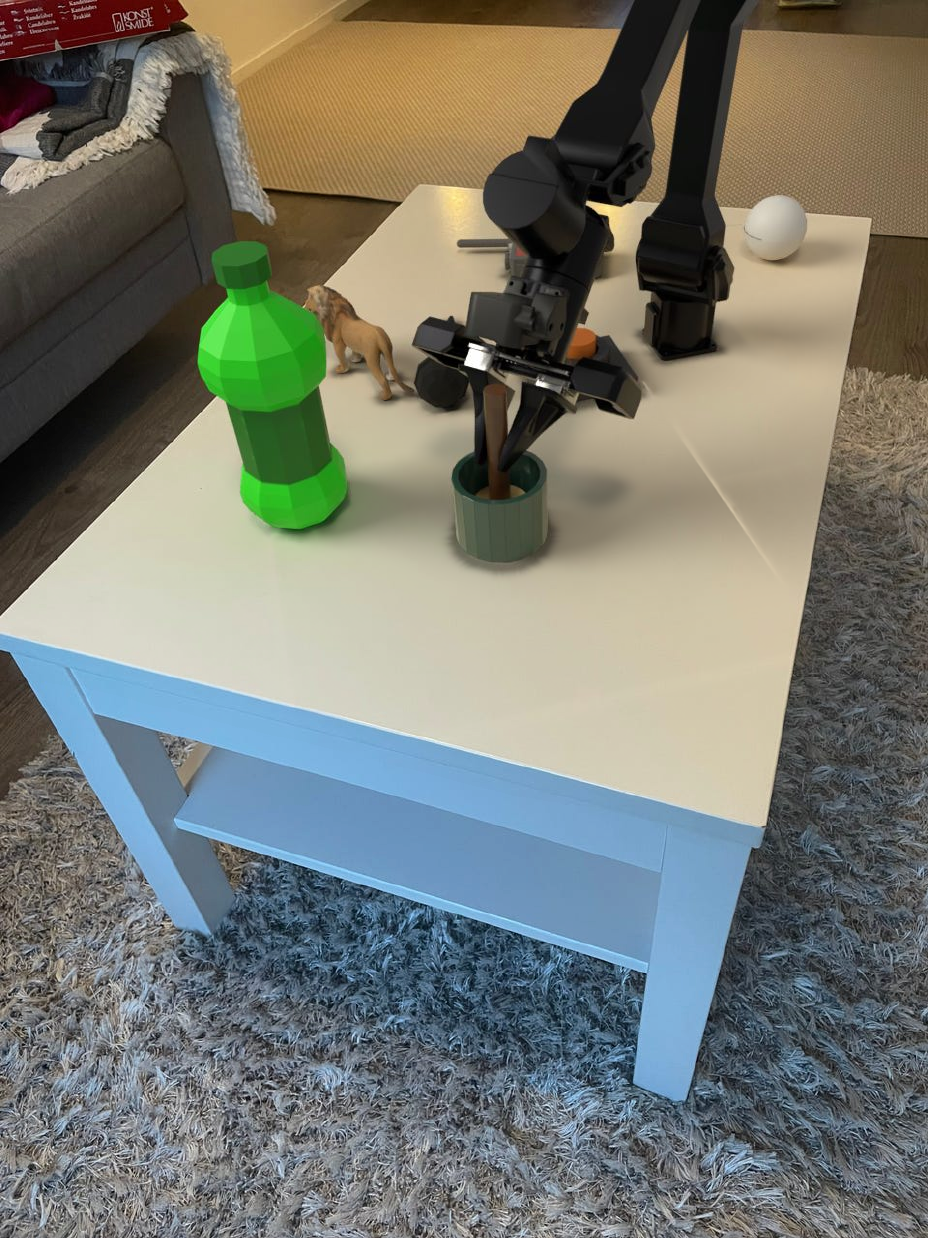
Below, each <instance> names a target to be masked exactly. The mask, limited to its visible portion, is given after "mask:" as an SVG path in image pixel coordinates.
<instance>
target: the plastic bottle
mask: <svg viewBox="0 0 928 1238" xmlns="http://www.w3.org/2000/svg"><path fill="white" fill-rule="evenodd" d="M211 264H212V268H213V272H214V276H215V280H216V284H218V285H219V286H221V287H223V288H224V289H226V293H227V298H226V299H225V300H224V301H223V302H222V303H221V304H220V305H219V306H218V307H217V308H216V310H214V312H213V313H212V315H210V317H209V318H208V320H207V321H206V322H205V323H204V325H203V326H202V327H201V332H200V339H199V345H198V353H197V366H198V370H199V373H200V376H201V378H202V380H203V383H204V384H205V386H206V387H207V389H208V392H211V393H212V394H213V395H215V396H216V397H218V398H219V399H221V400H222V401H224V403H225V405H226V408H227V411H228V416H229V419H230V422H231V426H232V429H233V433H234V436H235V440H236V444H237V447H238V450H239V455H240V457H241V462H242V465H241V472H240V485H239V486H240V487H239V494H240V497H241V500H242V501H241V502H242V503H243V504H244V505H245V506H246V507H247V509H248V510H249V511H250V512H251V513H252V514H254V515H255V516H257V518H259V519H260V520H262V521H263V522H264V523H266V525H269V526H271V527H272V528H279V529H288V530H289V529H290V530H303V529H306V528H310V527H312V526H315V525H318V524H321V523H322V522H324V521H326V520H327V518H329V516H331V514H332V513H334V512H335V510H336V509H337V508H338V507H339V506H340V505H341V504H342V503H343V501H344V500H345V498H346V494H347V491H348V485H347V484H348V483H347V481H348V480H347V468H346V464H345V459H344V457H343V455H342V453H340V451H339V450H338V448H336V447H335V445H333V443H331V439H330V434H329V430H328V425H327V420H326V415H325V409H324V405H323V400H322V396H321V389H320V385H321V383H322V382H323V381H324V380H325V379H326V377H327V341H326V336H325V334H324V330H323V327H322V325H321V323H320V322H319V320H318V319H317V317H316V316H315V314H313V313H311V312H310V311H308V310H306V309H304V306H301V305H299V304H298V303H296V302H294V301H292V300H290V299H288V298H286V297H285V296H283V295H281V294H280V293H277V292H275V291H273V290H270V287H269V283H268V280H269V279H271V278H272V273H273V270H272V263H271V258H270V254H269V249H268V246H267V245H265V244H263V243H262V242H261V243H260V242H259V241H258V240H257V241H256V240H253V241H252V240H251V241H250V240H249V241H248V240H239V241H235V242H232V243H228V244H224V245H222V246H220V247H219V248H218V249H216V250H214V251H213V252H212V253H211Z"/></svg>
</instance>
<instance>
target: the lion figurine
mask: <svg viewBox="0 0 928 1238" xmlns="http://www.w3.org/2000/svg"><path fill="white" fill-rule="evenodd" d="M307 292H308V297H307V299H306V300H305V305H304V306H303V308H304V309H306V310H308V311H310V312H311V313H313V314H315V316H316V317H317V319H318V320H319V322H320V323H321V325H322V327H323V330H324V335H325V339H326V340H327V341H328V342H330V343H332V346H333V350H334V352H335V356H336V357H337V359H338V361H339V365H337V366H336V367H335V371H336V372H335V373H336V374H345V373H346V372H348V371H349V362H348V359H347V356H346V350H347V348H348V349H350V350H351V351H352V352H351V356H350V361H351V362H352V363H359V362H361V361H362V359H363V358H362V355H363V356H364V359H365V362H366V364H367V367H368V369H369V371H370V373H371V374H372V376H373V377H374V378H375V380H376V381H377V382H378V383H379V385H380V386H381V388H382V390H381V391H380V395H379V396H380V399H381V400H382V401H387V400H390V399H391V397H392V395H393V392H392V389H391V386H390V383H389V381H394V382H395V383H396V384H397V385H398V387H400V389H402V390H403V391H404V392H405V393H406V394H409V395H412V394H415V392H416V391H415V389H414V388H412V387H411V386H409V385H407V384H406V383H404V382H402V380H401V379H400V377H399V375H398V374H397V369H396V367H395V365H394V358H393V357H394V355H393V351H394V346H393V343H392V341H391V338H390V336H389V335H388V333H387V332H386V331H385V329H384V328H383V327H381V326H379V325H374V324H372V323H370V322H368V321H366V320H364V319H363V318H361V317H360V316H359V315H358V314H357V312H356V310H355V308H354V306H353V304H351V302H350V301H349V300H348V299H347V298H346V297H344V296H343V295H342V294H341V293H340V292H338V291H337V290H336V289H333V288H331V287H329V286H325V285H324V284H323V285H320V284H318V285H313V286H310V287H309V288H307ZM381 357H382V358H383V360H384V362H385V364H386V365H387V370H388V372H387V373H386V374H385V375H384V373H383V371H382V367H381Z"/></svg>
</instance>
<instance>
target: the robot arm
mask: <svg viewBox="0 0 928 1238" xmlns="http://www.w3.org/2000/svg"><path fill="white" fill-rule="evenodd" d="M760 1H761V0H632V3H631V5H630V7H629V10H628V11H627V14H626V16H625V19H624V22H623V24H622V27H621V29H620V31H619V33H618V35H617V38H616V41H615V43H614V45H613V47H612V49H611V53H610V54H609V57H608V59H607V62H606V64H605V66H604V69H603V71H602V73H601V75H600V76H599V78H598V80H597V82H596V83H595V84H594V85H593V86H591V87H590V88H589V89H588V90H586V91H585V92H583V93H582V94H581V95H580V96H579V97H577V98H576V99H574V101H572V103H571V104H570V106H569V108H568V109H567V111H566V113H565V115H564V117H563V119H562V121H561V122H560V124H559V126H558V128H557V130H556V132H555V133H554V134H553V135H552V136H551V137H542V136H537V135H528V136H527V137H526V140H525V143H524V145H523V149H522V150H519V151H516V152H514V153H512V154H510V155H509V156H507V157H505V158H504V159H502V160H501V161H500V162H499V163H498V164H497V165H496V166H495V167H494V169H493V170H492V172H491V173H489V174H488V175H487V178H486V179H485V182H484V186H483V191H482V204H483V209H484V211H485V213H486V216H487V217H488V219H489V220H490V221H491V222H492V223H493V224H494V225H495V226H496V227H497V228H498V229H499V230H500V232H501V233H502V234H504V236H506V238H507V239H508V238H509V240H510V241H511V242H512V243H513V244H514V245H515V246H516V247H517V248H518V249H519V250H520V251H521V252H522V253H523V254H524V255H526V256H527V258H526V261H525V263H524V266H523V269H522V272H521V274H520V277H518V276H513V275H512V276H511V275H510V279H508V281H507V283H506V285H505V288H504V290H503V292H497V291H471V292H470V296H469V302H468V309H467V314H466V321H465V325H464V324H461V323H457V322H455V323H453V322H450V321H447V320H446V319H443V318H442V319H441V318H437V317H434V316H428V317H427V318H425V320H423V321H422V322H421V323H420V324H419V325H418V326H417V327H416V330H415V334H414V336H413V339H412V343H411V347H413V348H414V349H416V350H417V351H419V352H421V353H422V354H424V355H426V356H427V357H430V358H432V359H433V360H435V361H436V362H438V363H440V364H442V365H444V366H447V367H450V368H454V369H457V370H459V372H461V373H462V374H464V375H465V376H467V377H468V380H469V386H470V388H471V392H472V398H473V409H474V411H473V412H474V427H473V428H474V433H473V435H474V437H473V438H474V439H473V440H474V441H473V443H474V444H473V446H474V447H473V452H474V462H475V463H476V464H478V465H481V466H483V465H484V463H485V461H486V459H487V444H486V427H485V411H484V394H483V390H484V388H485V387H486V386H487V385H490V384H501V385H504V386H505V387H506V391H507V412H508V411H509V408H510V405H511V403H512V401H513V398H514V396H515V394H516V390H515V389H513V388H512V387H510V385H507V384H506V381H507V378H508V377H509V375H513V376H517V377H520V378H524V379H526V378H527V379H531V380H534V381H536V383H535V385H534V384H531V383H528V381H523V380H521V384H520V385H521V388H520V402H519V407H518V409H517V412H516V413H515V417H514V419H513V421H512V424H511V427H510V429H509V430H508V436H507V439H506V441H505V444H504V446H503V449H502V452H501V455H500V459H499V462H498V466H497V470H498V471H500V472H502V473H506V472H507V471H508V470H509V469H510V468H511V466H512V465H513V464H514V463H515V462H516V461H517V460H518V459H519V458H520V457H521V456H522V455H523V453H524V452H525V451H526V450H527V451H528V450H529V448H530V447H531V446H532V445H533V444H534V443H535V442H536V441H537V440H538V439H539V437H541V436H542V435H543V434H544V433H546V431H547V430H548V429H549V428H551V427H552V426H553V425H554V424H555V423H556V422H558V421H559V419H561V418H562V417H563V416H564V415H566V414H568V413H569V414H571V415H572V414H573V415H576V414H577V412H578V407H577V406H576V403H577V402H576V400H577V398H578V395H579V393H580V394H584V395H587V396H591V397H593V398H594V399H593V400H594V402H595V404H596V407H597V409H598V410H599V411H601V412H603V413H607V414H610V415H614V416H616V417H617V416H618V417H620V418H623V419H628V420H635V417H636V415H637V411H638V409H639V406H640V404H641V402H642V388H641V386H640V383H639V381H638V382H637V381H636V380H635V379H634V378H633V377H632V376H631V375H630V374H629V373H628V372H627V371H626V370H625V369H624V368H623V367H621V366H617V365H613V364H609V363H605V362H602V361H598V360H594V359H590V358H586V357H583V358H582V359H581V360H580V361H579V362H578V363H577V364H576V365H575V367H573V366H570V365H571V362H572V361H571V360H570V359H568V358H567V354H568V351H569V349H570V346H571V343H572V340H573V338H574V335H575V332H576V329H577V328H578V327H579V324H580V325H583V326H585V325H586V323H587V320H588V317H589V314H590V312H589V311H588V310H587V309H586V308H585V307H586V304H587V302H588V299H589V295H590V293H591V291H592V287H593V285H594V282H595V279H596V278H595V276H596V274H597V271H598V268H599V265H600V263H601V260H602V257H603V258H604V255H605V253H606V252H605V250H606V251H609V252H613V250H614V249H615V236H614V233H613V231H612V229H611V225H610V216H608V215H606V214H601V213H598V211H597V210H595V209H594V208H593V207H591V206H589V205H588V204H587V202H591V203H596V204H602V205H606V206H613V207H618V208H623V207H624V206H626V205H628V204H629V205H631V204H633V203H634V202H635V201H636V199H637V197H638V196H639V195H640V194H641V193H642V192H643V191H644V190H645V189H646V187H647V184H648V181H649V179H650V178H651V176H652V173H653V163H652V162H653V161H652V160H653V156H654V153H655V150H656V139H655V135H654V127H653V121H652V118H653V116H654V113H655V110H656V107H657V104H658V102H659V99H660V97H661V95H662V92H663V90H664V88H665V85H666V83H667V80H668V78H669V76H670V73H671V71H672V69H673V66H674V64H675V61H676V59H677V57H678V55H679V52H680V50H681V48H682V45H683V42H684V40H685V38H686V41H685V48H684V49H685V50H684V54H683V55H684V57H683V64H682V71H681V78H680V85H679V92H678V100H677V107H676V113H675V114H676V115H675V121H674V127H673V128H674V129H673V135H672V142H671V143H672V144H671V149H670V157H669V165H668V171H667V172H668V173H667V178H666V179H667V180H666V186H665V192H664V197H663V198H662V199H661V201H660V202H659V203H658V205H657V206H656V207H655V209H654V210H653V211H652V213H651V214H650V215H648V216H646V217H645V218H644V220H643V222H642V224H641V234H640V238H639V239H640V240H639V242H638V244H637V247H636V251H635V268H636V276H637V283H638V290H639V291H641V292H649V293H650V301H647V302H646V304H645V310H644V311H645V312H644V325H643V328H642V330H641V334H642V336H643V338H644V340H645V341H646V342H647V344H648V345H649V346H650V348H652V350H653V351H654V352H655V354H656V355H657V356H658V357H659V359H660V360H662V361H669V360H673V359H674V360H675V359H678V358H684V357H689V356H695V355H701V354H706V353H711V352H716V351H718V348H719V347H718V346H719V345H718V343H716V341H715V340H714V338H713V331H714V323H715V316H716V308H717V303H720V302H725V301H728V299H729V298H730V291H731V285H732V284H733V281H734V273H735V266H734V264H733V262H732V259H731V257H730V255H729V253H728V252H727V249H726V247H724V245H725V236H726V228H727V226H726V225H727V224H726V221H725V219H724V216H723V214H722V211H721V209H720V206H719V203H718V201H717V198H716V189H717V182H718V176H719V171H720V166H721V165H720V164H721V158H722V152H723V146H724V142H725V141H724V140H725V135H726V129H727V124H728V116H729V111H730V104H731V99H732V93H733V87H734V81H735V76H736V69H737V64H738V57H739V52H740V46H741V40H742V34H743V29H744V24H745V22H746V21H747V19H748V17H749V16H750V15H751V13H752V12H753V11H754V9H755V8H756V7H757V5H758V4H759V2H760ZM484 339H485V340H489V341H492V342H494V343H495V344H492V343H487V342H486V341H485V340H484ZM540 370H541V371H540ZM544 371H545V372H544Z"/></svg>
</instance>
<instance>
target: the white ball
mask: <svg viewBox="0 0 928 1238" xmlns="http://www.w3.org/2000/svg"><path fill="white" fill-rule="evenodd" d="M734 226H737V224H730V225H727V224H726V227H734ZM739 226H742V223H741V224H740V223H739ZM743 231H744V241H745V244H746V245H747V248H748V249H749V250H750V251H751V252H752V253H753V254H754V255H755V256H756V257H758V258H759V259H763V260H767V261H777V260H782V259H783V260H784V259H786V258H787V257H789V256H790V255H792V254H793V253H794V252H797V250H798V249H799V247H800V246H801V245H802V243H803V242H804V239H805V237H806V234H807V232H808V217H807V215H806V212H805V209H804V207H803V206H802V205H801V203H799V202H798V200H796V199H794V198H793V197H790V196H787V195H783V194H777V195H776V194H775V195H771V196H768V197H765V198H764V199H762V200H761V201H759V202H757V204H755V205H754V206H753V208H751V210H750V212H749V213H748V215H747V216H746V220H745V222H744V226H743Z"/></svg>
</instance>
